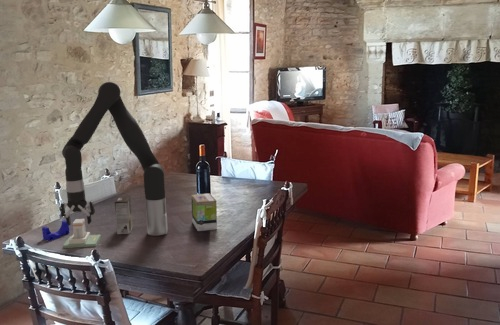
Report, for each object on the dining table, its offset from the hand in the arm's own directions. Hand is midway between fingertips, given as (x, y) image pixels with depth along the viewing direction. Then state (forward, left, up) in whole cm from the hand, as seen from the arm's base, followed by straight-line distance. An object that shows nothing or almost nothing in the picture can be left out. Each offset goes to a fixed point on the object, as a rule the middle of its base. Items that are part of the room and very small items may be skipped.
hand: (79, 224), depth 220 cm
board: (-1, 0, -9) cm, 9 cm away
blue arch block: (+13, -10, -9) cm, 19 cm away
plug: (0, 0, -8) cm, 8 cm away
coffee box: (-18, -13, -9) cm, 24 cm away
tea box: (-56, -15, -9) cm, 59 cm away
